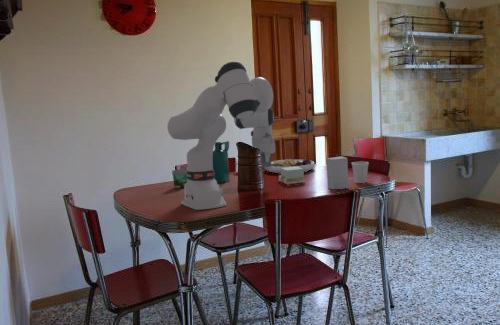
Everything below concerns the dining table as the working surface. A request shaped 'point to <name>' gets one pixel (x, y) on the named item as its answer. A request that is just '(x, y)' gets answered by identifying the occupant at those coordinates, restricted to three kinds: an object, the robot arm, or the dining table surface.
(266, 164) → the grey block
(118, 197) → the dining table surface
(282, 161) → the bowl
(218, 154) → the teal gas canister
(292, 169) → the tower top
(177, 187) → the food container
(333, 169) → the skincare box
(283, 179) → the tower base
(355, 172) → the dixie cup
